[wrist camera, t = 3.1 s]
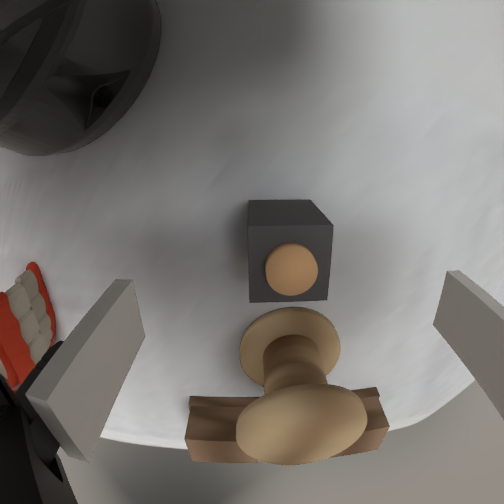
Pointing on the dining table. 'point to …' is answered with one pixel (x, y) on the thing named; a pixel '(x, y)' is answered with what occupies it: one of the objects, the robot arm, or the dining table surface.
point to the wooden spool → (296, 391)
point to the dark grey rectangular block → (288, 251)
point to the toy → (24, 326)
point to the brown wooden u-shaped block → (229, 409)
